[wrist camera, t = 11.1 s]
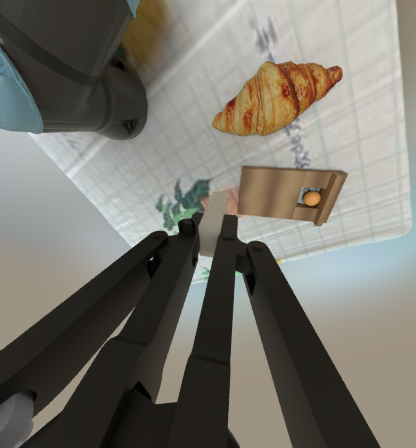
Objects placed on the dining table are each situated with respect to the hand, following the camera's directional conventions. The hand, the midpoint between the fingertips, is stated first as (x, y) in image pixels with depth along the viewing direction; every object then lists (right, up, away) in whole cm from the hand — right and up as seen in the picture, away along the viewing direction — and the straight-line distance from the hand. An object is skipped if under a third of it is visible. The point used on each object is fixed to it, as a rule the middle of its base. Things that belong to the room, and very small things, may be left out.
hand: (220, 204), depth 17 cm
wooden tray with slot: (+16, +5, +20) cm, 27 cm away
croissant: (+10, +21, +13) cm, 27 cm away
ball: (+22, +4, +18) cm, 29 cm away
